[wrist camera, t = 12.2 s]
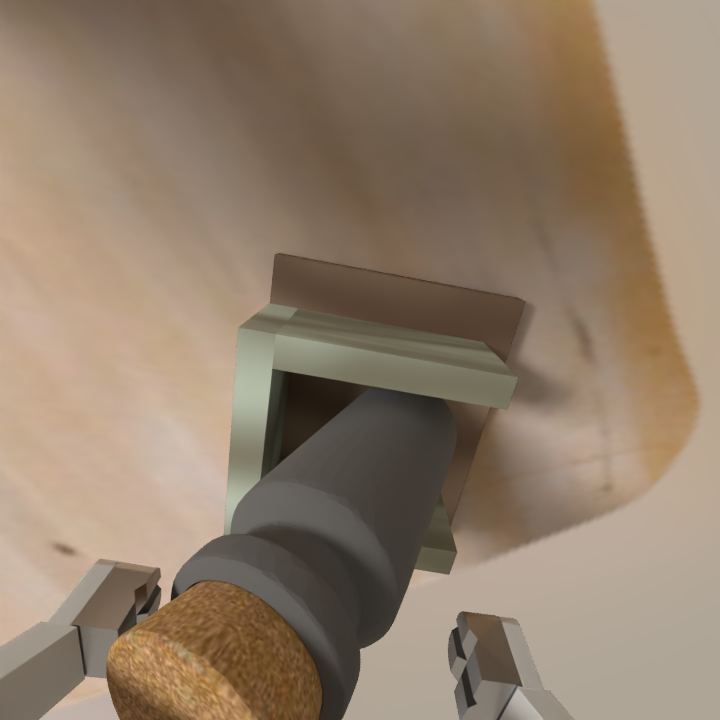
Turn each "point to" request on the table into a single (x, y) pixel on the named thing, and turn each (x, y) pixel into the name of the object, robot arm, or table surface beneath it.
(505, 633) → the robot arm
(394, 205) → the table surface
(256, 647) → the bottle
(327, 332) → the u rest
